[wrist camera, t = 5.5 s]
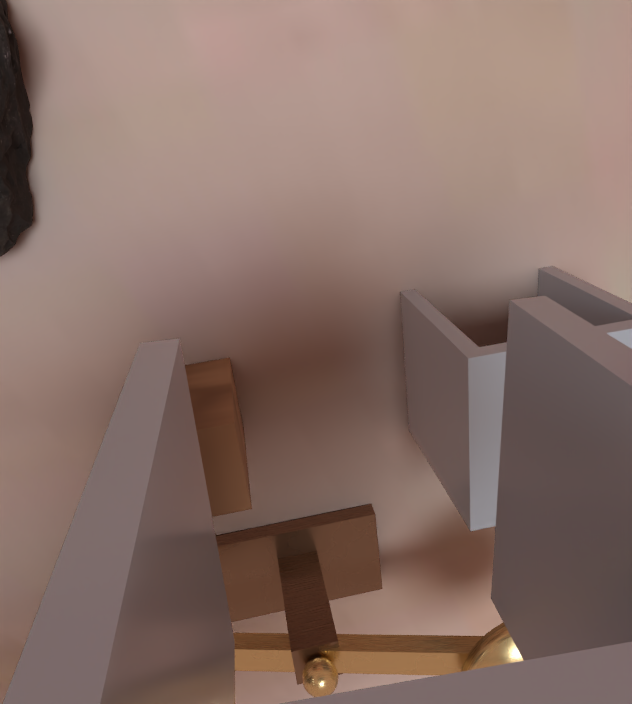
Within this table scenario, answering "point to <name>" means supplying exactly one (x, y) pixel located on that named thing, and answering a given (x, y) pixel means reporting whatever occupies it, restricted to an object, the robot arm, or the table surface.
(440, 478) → the cover
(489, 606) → the table surface
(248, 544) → the balance
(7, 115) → the rock
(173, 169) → the table surface
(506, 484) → the cover
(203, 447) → the block
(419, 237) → the table surface
